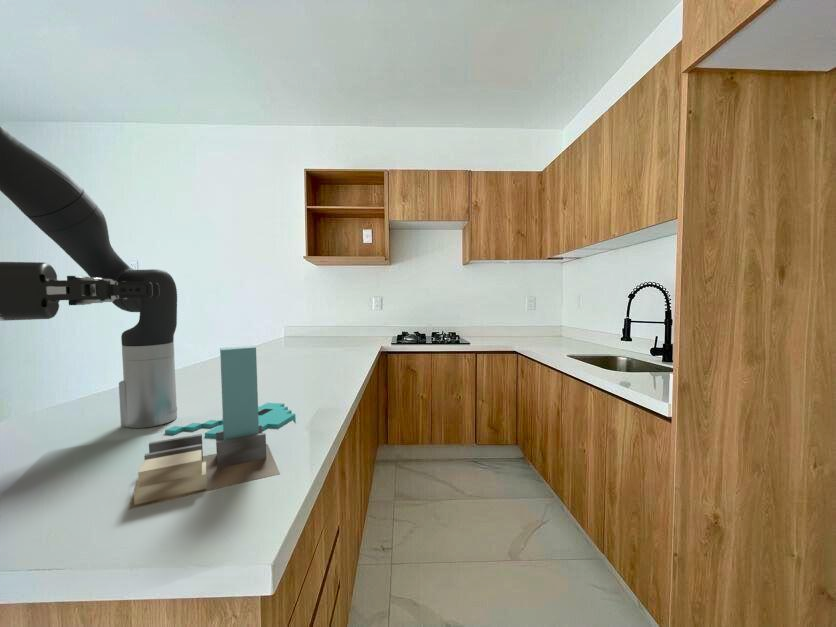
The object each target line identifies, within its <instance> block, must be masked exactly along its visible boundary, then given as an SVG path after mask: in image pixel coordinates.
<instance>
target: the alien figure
mask: <svg viewBox="0 0 836 627" xmlns="http://www.w3.org/2000/svg"><path fill="white" fill-rule="evenodd" d="M288 408H289V406H285V403H283V402H282V403H278V402H266V403H264V404H262V405H260V406H258V421H259V424H261V425H262V432H263V431H265V430H266V429H268V428H271V429H273V428H274V429H279V428H281V427H282V426H284V425H286V424H288V423H289V422H291V421H292V422H294V423H296V417H297V416H296V413H292V412H293V411H292V410H291V409H288ZM218 425H219V426H218ZM202 428H208V429H209V428H210V430H209V431H206V432H204V437H205V438H212V439H213V438H215V439H216V431H222V430H223V418H222V419H221V420H219V419H218V420H216V419H215V420H214V419H210V420H207V421H205V422H202V423H201V422H200V423H198V422H192V423H189V424H187V425H185V426H178V425H177V426H176V425H173V426H172V427H169V428H166V429H164V434H165V435H173V436H174V435H177V434H180V433H182V432H184V431H185V432H195V431H198V430H200V429H202Z"/></svg>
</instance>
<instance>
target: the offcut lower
mask: <svg viewBox="0 0 836 627" xmlns="http://www.w3.org/2000/svg"><path fill="white" fill-rule="evenodd" d="M206 488H207V473H206V462H202V474H201V475H196V476H191V477H187V478H182V479H177V480H172V481H168V482H163V483H158V484H154V485H149V486H144V487H139V477H137V480H136V483H135V486H134V488H133V495H134V502H135V505H136V504H140V503H145V502H149V501H153V500H158V499H162V498H167V497H171V496H175V495H180V494H184V493H188V492H193V491H197V490H201V489H206Z"/></svg>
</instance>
